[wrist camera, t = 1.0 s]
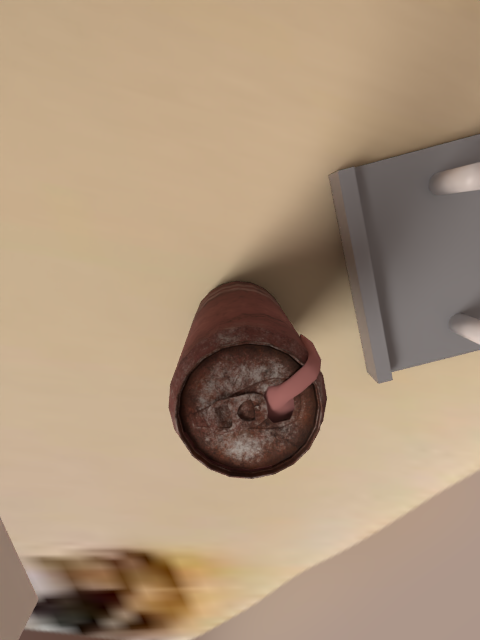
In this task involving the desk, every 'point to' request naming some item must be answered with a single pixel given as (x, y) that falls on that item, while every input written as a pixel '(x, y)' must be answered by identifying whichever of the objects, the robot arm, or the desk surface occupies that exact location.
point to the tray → (413, 254)
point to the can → (246, 385)
